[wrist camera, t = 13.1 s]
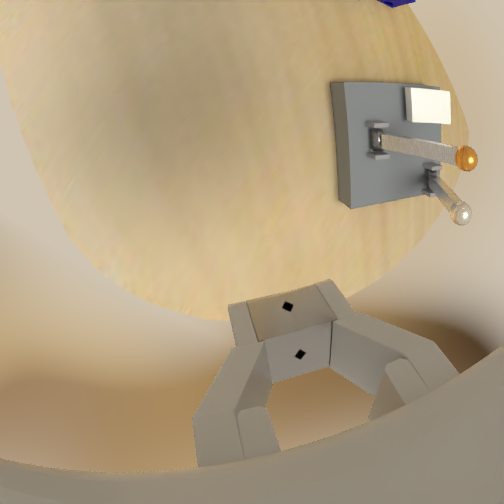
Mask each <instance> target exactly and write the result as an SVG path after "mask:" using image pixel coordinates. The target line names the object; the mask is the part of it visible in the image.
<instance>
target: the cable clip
mask: <svg viewBox="0 0 504 504" xmlns="http://www.w3.org/2000/svg"><path fill="white" fill-rule="evenodd" d="M378 1H380V2H382V3H384V4H386V5H388V6H390V7H392V8H393V7H397V6H400V5H404V4H408V3H412V2H415V0H378Z"/></svg>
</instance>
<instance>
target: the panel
mask: <svg viewBox="0 0 504 504" xmlns="http://www.w3.org/2000/svg"><path fill="white" fill-rule="evenodd" d="M330 85H331V94H332V103H333V113H334V125H335V137H336V152H337V169H338V192H339V200H340V201H341V202H342V203H344V204H345V205H346V206H348V207H349V208H350V209H354V208H359V207H364V206H369V205H374V204H379V203H384V202H389V201H394V200H399V199H404V198H409V197H415V196H420V195H427V196H429V197H433V196H436V195H435V193H434V192H433V191H432V190H430V189H428V188H427V173H428V169H429V170H432V171H433V170H437V175H438V176H439V174H440V170H441V169H442V165H440V161H437V160H432V159H428V158H424V157H419V156H415V155H410V154H406V153H401V152H396V151H391V150H385V149H384V151H382V152H376V151H373V150H372V128H380V129H383V134H384V133H389V134H396V135H402V136H408V137H413V138H419V139H424V140H429V141H434V142H439V143H441V124H440V123H419V122H410V121H407V116H406V96H405V87H411V88H423V89H433V90H440V87H434V86H425V85H414V84H401V83H381V82H331V83H330Z"/></svg>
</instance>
